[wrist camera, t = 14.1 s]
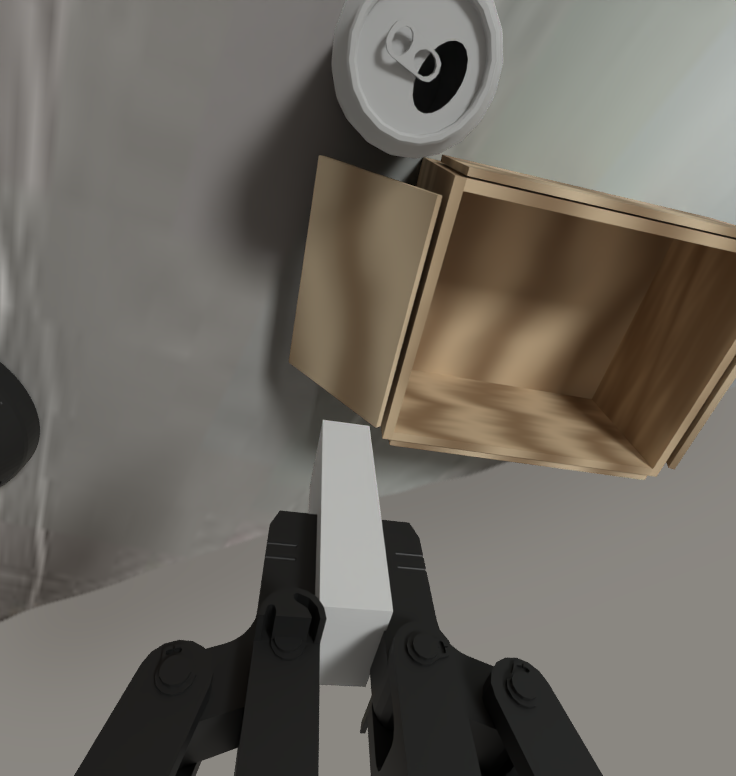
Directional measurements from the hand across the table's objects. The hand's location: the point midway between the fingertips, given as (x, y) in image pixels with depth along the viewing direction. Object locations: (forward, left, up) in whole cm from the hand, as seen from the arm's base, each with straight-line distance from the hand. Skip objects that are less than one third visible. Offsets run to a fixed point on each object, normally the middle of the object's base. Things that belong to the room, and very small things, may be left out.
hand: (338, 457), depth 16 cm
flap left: (+1, 0, -16) cm, 16 cm away
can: (+1, +12, -23) cm, 26 cm away
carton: (+14, 0, -23) cm, 27 cm away
